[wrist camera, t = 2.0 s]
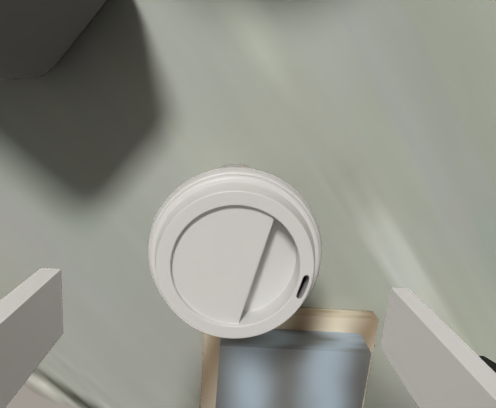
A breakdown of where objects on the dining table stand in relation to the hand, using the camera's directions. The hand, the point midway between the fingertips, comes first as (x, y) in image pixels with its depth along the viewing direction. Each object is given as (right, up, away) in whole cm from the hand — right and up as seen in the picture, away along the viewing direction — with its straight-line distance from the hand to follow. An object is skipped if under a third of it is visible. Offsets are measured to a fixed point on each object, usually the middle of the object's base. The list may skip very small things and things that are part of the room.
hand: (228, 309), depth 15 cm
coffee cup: (0, +5, +18) cm, 19 cm away
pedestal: (+4, -13, +23) cm, 27 cm away
